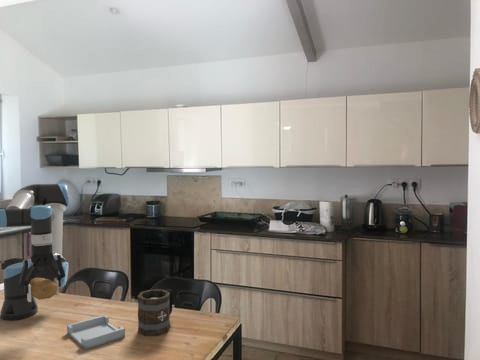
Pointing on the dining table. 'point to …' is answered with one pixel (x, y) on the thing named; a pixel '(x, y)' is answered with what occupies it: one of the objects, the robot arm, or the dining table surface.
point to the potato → (43, 288)
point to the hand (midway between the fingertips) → (43, 297)
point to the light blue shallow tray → (94, 332)
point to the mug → (154, 312)
